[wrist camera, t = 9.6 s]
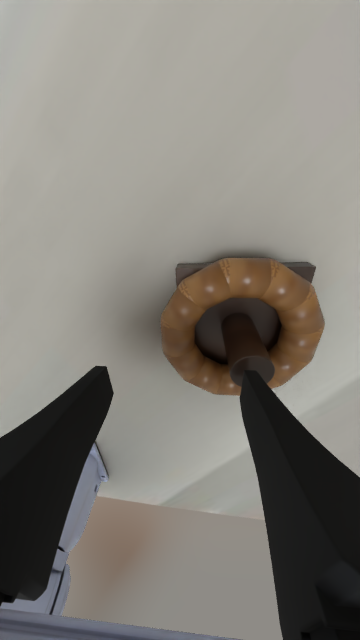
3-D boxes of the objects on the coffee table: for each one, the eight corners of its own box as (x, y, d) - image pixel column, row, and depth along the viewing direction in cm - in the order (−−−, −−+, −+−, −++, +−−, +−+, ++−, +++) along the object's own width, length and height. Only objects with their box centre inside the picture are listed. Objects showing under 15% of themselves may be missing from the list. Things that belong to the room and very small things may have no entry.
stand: (281, 363, 19) (315, 428, 13) (180, 360, 19) (174, 421, 14) (307, 262, 14) (375, 297, 9) (177, 263, 15) (165, 297, 10)
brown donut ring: (290, 382, 18) (302, 405, 16) (166, 376, 19) (163, 398, 17) (333, 254, 13) (360, 263, 11) (159, 254, 14) (152, 262, 11)
